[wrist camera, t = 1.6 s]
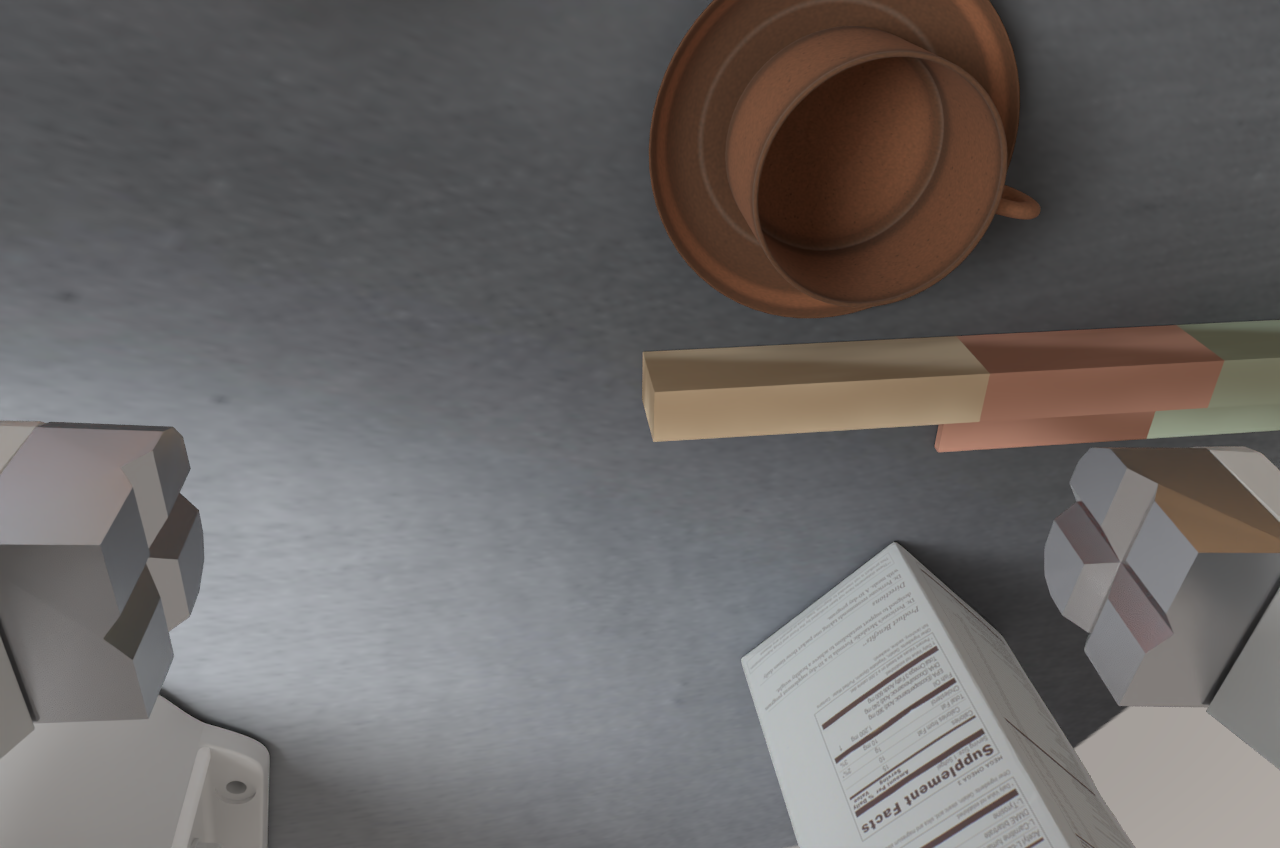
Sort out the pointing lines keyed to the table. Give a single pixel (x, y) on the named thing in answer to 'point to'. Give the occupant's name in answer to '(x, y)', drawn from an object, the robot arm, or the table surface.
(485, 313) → the table surface
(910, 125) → the cup and saucer
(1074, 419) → the lane
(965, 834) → the supplement box
